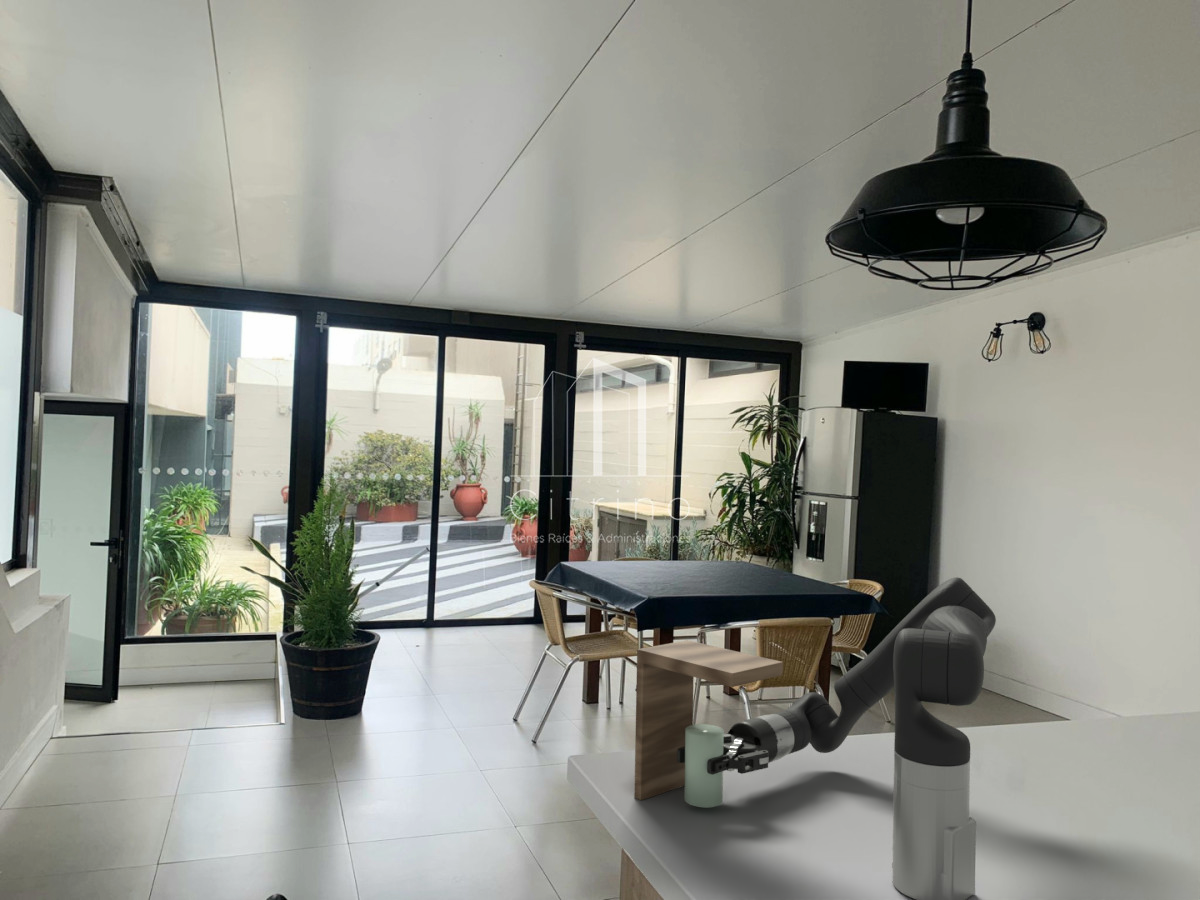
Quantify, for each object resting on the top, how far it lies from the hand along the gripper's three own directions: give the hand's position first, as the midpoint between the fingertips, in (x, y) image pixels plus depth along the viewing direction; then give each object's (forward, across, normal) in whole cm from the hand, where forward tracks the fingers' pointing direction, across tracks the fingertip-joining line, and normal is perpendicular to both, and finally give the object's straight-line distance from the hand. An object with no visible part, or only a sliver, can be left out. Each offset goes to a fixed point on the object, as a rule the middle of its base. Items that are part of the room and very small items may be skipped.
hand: (693, 761), depth 137 cm
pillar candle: (-2, 0, +6) cm, 7 cm away
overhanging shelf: (-3, 0, +8) cm, 8 cm away
